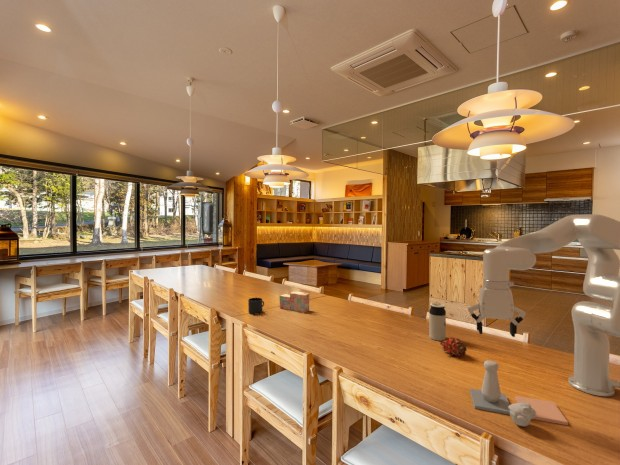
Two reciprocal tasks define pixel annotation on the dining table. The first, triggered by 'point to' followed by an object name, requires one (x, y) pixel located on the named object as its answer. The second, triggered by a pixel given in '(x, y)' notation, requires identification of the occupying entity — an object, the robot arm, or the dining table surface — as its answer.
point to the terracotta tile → (544, 410)
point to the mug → (255, 305)
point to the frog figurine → (522, 413)
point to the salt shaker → (491, 382)
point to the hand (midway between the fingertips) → (496, 334)
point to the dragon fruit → (454, 346)
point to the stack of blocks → (295, 301)
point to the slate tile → (493, 407)
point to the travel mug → (437, 321)
